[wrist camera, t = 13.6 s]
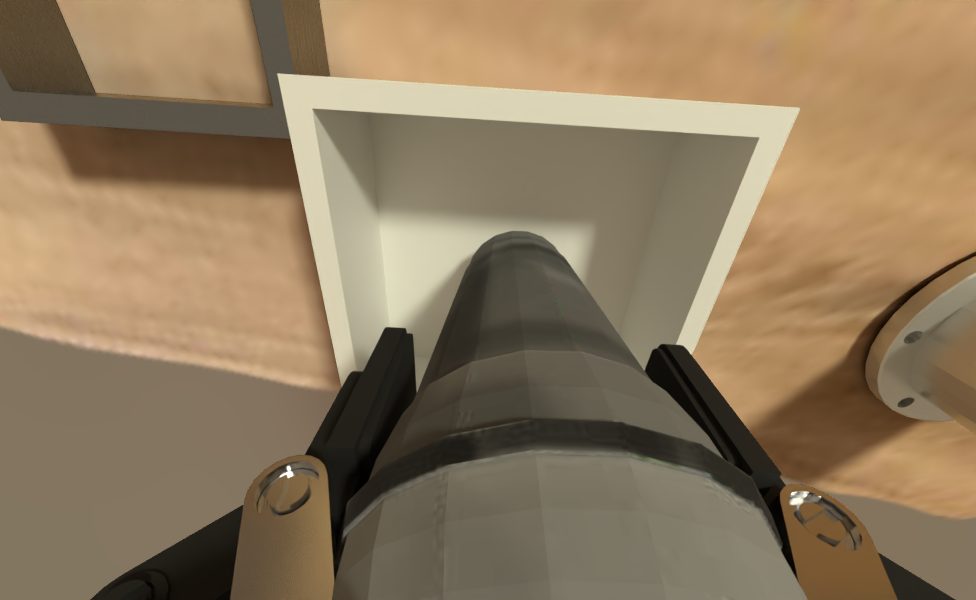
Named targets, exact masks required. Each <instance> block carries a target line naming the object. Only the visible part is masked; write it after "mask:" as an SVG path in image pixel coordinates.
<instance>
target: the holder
mask: <svg viewBox="0 0 976 600" xmlns="http://www.w3.org/2000/svg"><path fill="white" fill-rule="evenodd" d="M250 2H251V6H252V11H253V15H254V20H255V25H256V29H257V34H258V38H259V43H260V48H261V52H262V57H263V61H264V66H265V70H266V75H267V80H268V84H269V89H270V93H271V98H272V103H273V104H258V103H242V102H227V101H211V100H196V99H181V98H165V97H150V96H134V95H119V94H104V93H95V91H94V89H93V86H92V84H91V82H90V80H89V77H88V75H87V73H86V70H85V68H84V66H83V63H82V61H81V59H80V56H79V54H78V52H77V49H76V47H75V45H74V43H73V40H72V38H71V36H70V33H69V31H68V29H67V26H66V24H65V22H64V19H63V17H62V15H61V12H60V10H59V8H58V6H57V3H56V1H55V0H0V118H1V120H2V121H18V122H34V123H49V124H65V125H80V126H96V127H112V128H127V129H143V130H159V131H174V132H190V133H205V134H221V135H237V136H252V137H268V138H284V139H291V138H290V133H289V128H288V124H287V119H286V114H285V109H284V104H283V99H282V94H281V89H280V84H279V80H278V75H277V73H278V74H294V75H309V76H324V77H330V74H329V67H328V60H327V53H326V46H325V39H324V31H323V24H322V17H321V10H320V3H319V0H250Z"/></svg>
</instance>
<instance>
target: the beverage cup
mask: <svg viewBox="0 0 976 600" xmlns="http://www.w3.org/2000/svg"><path fill="white" fill-rule="evenodd" d="M782 546H783V543H782V541H781V538H780V535H779V533H778V530H777V528H776V525H775V522H774V520H773V517H772V515H771V513H770V511H769V509H768V507H767V506H766V504H765V502H764V500H763V498H762V496H761V494H760V492H759V490H758V488H757V487H756V485H755V483H754V481H753V479H752V477H750V476H749V475H747V474H746V473H744V472H743V471H741V470H740V469H738V468H737V467H735V466H734V465H732V464H731V463H729V462H728V461H726V460H725V459H723V457H722V456H721V454H720V453H719V451H718V450H717V448H716V447H715V445H714V444H713V442H712V441H711V439H710V438H709V436H708V435H707V434H706V433H705V432H704V431H703V430H702V429H701V428H700V427H699V425H698V424H697V423H696V422H695V421H694V420H693V419H692V418H691V417H690V416H689V415H688V414H687V413H686V412H685V411H684V410H683V409H682V407H681V406H680V405H679V404H678V403H677V402H676V401H675V400H674V399H673V398H672V397H671V396H670V395H669V394H668V393H667V392H666V391H665V390H663V389H662V388H661V387H659V386H658V385H656V384H655V383H653V382H652V381H651V379H650V378H649V377H648V375H647V374H646V372H645V371H644V369H643V368H642V367H641V365H640V364H639V362H638V361H637V359H636V358H635V357H634V355H633V354H632V352H631V351H630V350H629V348H628V347H627V345H626V344H625V342H624V341H623V340H622V338H621V337H620V335H619V334H618V332H617V331H616V330H615V328H614V327H613V325H612V324H611V323H610V321H609V320H608V318H607V317H606V315H605V314H604V313H603V311H602V310H601V308H600V307H599V305H598V304H597V303H596V301H595V300H594V298H593V297H592V296H591V294H590V293H589V291H588V290H587V288H586V287H585V286H584V284H583V283H582V281H581V280H580V278H579V277H578V276H577V274H576V273H575V271H574V270H573V268H572V267H571V266H570V264H569V263H568V261H567V260H566V259H565V257H564V256H563V255H561V254H560V253H559V252H558V250H557V249H556V247H555V246H554V245H553V244H551V243H550V242H549V241H548V240H546V239H545V238H544V237H542V236H539V235H537V234H534V233H531V232H528V231H509V232H506V233H502V234H498V235H495V236H494V237H492V238H491V239H489V240H488V241H486V242H485V243H483V244H482V245H481V246H480V247H479V249H478V250H477V251H476V252H475V254H474V255H473V256H472V259H471V262H470V264H469V265H468V267H467V268H466V270H465V272H464V275H463V277H462V280H461V282H460V285H459V288H458V290H457V293H456V295H455V298H454V300H453V303H452V305H451V308H450V310H449V313H448V315H447V318H446V320H445V323H444V325H443V328H442V330H441V333H440V336H439V338H438V341H437V343H436V346H435V348H434V351H433V353H432V356H431V358H430V361H429V363H428V366H427V368H426V371H425V373H424V376H423V378H422V381H421V384H420V386H419V389H418V391H417V394H416V396H415V399H414V401H413V403H412V404H411V405H410V406H409V407H408V408H407V409H406V410H405V412H404V413H403V414H402V416H401V417H400V419H399V421H398V422H397V424H396V426H395V428H394V429H393V431H392V433H391V435H390V436H389V438H388V440H387V442H386V443H385V445H384V447H383V449H382V450H381V452H380V454H379V455H378V457H377V459H376V461H375V464H374V467H373V470H372V472H371V475H370V478H369V481H368V482H367V483H366V484H365V485H364V486H363V487H362V488H361V489H360V490H359V491H358V492H357V493H356V494H355V495H354V496H353V497H352V498H351V499H350V500H349V501H348V502H347V506H346V510H345V514H344V518H343V522H342V526H341V530H340V534H339V538H338V546H337V563H338V572H337V575H336V579H335V583H334V588H333V595H332V600H808V599H807V597H806V595H805V594H804V592H803V590H802V588H801V586H800V585H799V583H798V581H797V579H796V577H795V575H794V574H793V572H792V570H791V568H790V566H789V565H788V563H787V561H786V559H785V557H784V556H783V554H782V552H781V551H782Z"/></svg>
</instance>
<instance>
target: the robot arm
mask: <svg viewBox="0 0 976 600" xmlns="http://www.w3.org/2000/svg"><path fill="white" fill-rule="evenodd" d="M645 372H646V374H647V375H648V377H649V378H650V379H651V381H652V382H653V383H655V384H656V385H658V386H659V387H661V388H662V389H663V390H665V391H666V392H667V393H668V394H669V395H670V396H671V397H672V398H673V399H674V400H675V401H676V402H677V403H678V404H679V405H680V406H681V407H682V409H683V410H684V411H685V412H686V413H687V414H688V415H689V416H690V417H691V418H692V419H693V420H694V421H695V422H696V423H697V424H698V425H699V427H700V428H701V429H702V430H703V431H704V432H705V433H706V434H707V435H708V436H709V438H710V439H711V441H712V442H713V444H714V445H715V447H716V448H717V450H718V451H719V453H720V454H721V456H722V457H723V459H725V460H726V461H728V462H729V463H731V464H732V465H734V466H735V467H737V468H738V469H740V470H741V471H743V472H744V473H746V474H747V475H749V476H750V477H752V479H753V481H754V483H755V485H756V487H757V488H758V490H759V492H760V494H761V496H762V498H763V500H764V502H765V504H766V506H767V507H768V509H769V511H770V513H771V515H772V517H773V520H774V522H775V525H776V528H777V530H778V533H779V535H780V538H781V541H782V543H783V546H782V551H781V552H782V554H783V556H784V557H785V559H786V561H787V563H788V565H789V566H790V568H791V570H792V572H793V574H794V575H795V577H796V579H797V581H798V583H799V585H800V586H801V588H802V590H803V592H804V594H805V595H806V597H807V599H808V600H955V599H953V598H952V597H950V596H948V595H947V594H945V593H943V592H942V591H940V590H939V589H937V588H935V587H934V586H932V585H930V584H929V583H927V582H925V581H924V580H922V579H921V578H919V577H917V576H916V575H914V574H912V573H911V572H909V571H907V570H906V569H904V568H903V567H901V566H899V565H897V564H896V563H894V562H893V561H891V560H889V559H888V558H886V557H884V556H883V555H881V554H879V553H878V552H877V550H876V548H875V545H874V543H873V540H872V538H871V536H870V535H869V533H868V531H867V530H866V528H865V526H864V525H863V524H862V523H861V522H860V521H859V519H858V518H857V517H856V516H855V515H854V514H853V513H852V512H851V511H850V510H849V509H847V508H846V507H845V506H844V505H843V504H842V503H840V502H839V501H837V500H835V499H834V498H832V497H831V496H829V495H828V494H826V493H824V492H822V491H819V490H817V489H815V488H813V487H809V486H806V485H802V484H790V485H787V486H786V485H785V484H784V482H783V481H782V480H781V478H780V475H781V472H780V471H779V470H778V468H777V467H776V466H775V464H774V463H773V462H772V460H771V459H770V458H769V457H768V455H767V454H766V453H765V451H764V450H763V449H762V447H761V446H760V445H759V443H758V442H757V441H756V439H755V438H754V437H753V435H752V434H751V433H750V432H749V430H748V429H747V428H746V426H745V425H744V424H743V422H742V421H741V420H740V418H739V417H738V416H737V414H736V413H735V412H734V411H733V409H732V408H731V407H730V405H729V404H728V403H727V401H726V400H725V399H724V397H723V396H722V395H721V393H720V392H719V391H718V389H717V388H716V387H715V386H714V384H713V383H712V382H711V380H710V379H709V378H708V376H707V375H706V374H705V372H704V371H703V370H702V368H701V367H700V366H699V365H698V363H697V362H696V361H695V359H694V358H693V357H692V355H691V354H690V353H689V351H688V350H687V349H686V348H685V347H684V346H683V345H673V344H661V345H659V346H658V348H655V349H653V350H652V352H651V355H650V357H649V360H648V363H647V365H646V368H645ZM865 377H866V380H867V383H868V387H869V389H870V390H871V391H872V393H873V394H874V395H875V396H876V397H877V398H878V399H879V400H880V401H882V402H883V403H884V404H885V405H887V406H888V407H889V408H891V409H892V410H893V411H895V412H898V413H900V414H902V415H904V416H906V417H910V418H915V419H919V420H930V421H954V420H955V421H957V422H958V423H960V424H961V425H963V426H964V427H965V428H967V429H968V430H970V431H971V432H973V433H974V434H976V256H975V257H972V258H970V259H968V260H966V261H964V262H962V263H960V264H959V265H957V266H955V267H954V268H952V269H950V270H949V271H947V272H945V273H944V274H942V275H941V276H939V277H937V278H936V279H934V280H933V281H932V282H930V283H929V284H928V285H926V286H925V287H924V288H922V289H921V290H920V291H918V292H917V293H916V294H914V295H913V296H912V297H911V298H910V299H909V300H908V301H907V302H906V303H905V304H903V305H902V306H901V307H900V308H899V309H898V310H897V311H896V312H895V313H894V314H893V315H892V317H891V318H890V319H889V320H888V322H887V323H886V324H885V325H884V327H883V328H882V329H881V330H880V332H879V334H878V335H877V337H876V339H875V341H874V342H873V344H872V346H871V348H870V351H869V354H868V358H867V361H866V371H865ZM416 394H417V390H416V374H415V357H414V341H413V334H412V333H407V331H406V328H396V327H385V329H384V330H383V332H382V334H381V336H380V338H379V340H378V342H377V344H376V346H375V348H374V350H373V352H372V354H371V356H370V358H369V360H368V362H367V364H366V366H365V368H364V370H363V371H352V372H351V373H350V374H349V375H348V377H347V379H346V381H345V382H344V384H343V386H342V388H341V390H340V392H339V393H338V395H337V397H336V399H335V401H334V403H333V404H332V406H331V408H330V410H329V412H328V413H327V415H326V417H325V419H324V421H323V423H322V425H321V426H320V428H319V430H318V432H317V434H316V435H315V437H314V439H313V441H312V443H311V445H310V446H309V448H308V450H307V452H306V454H305V455H297V456H291V457H287V458H285V459H283V460H280V461H278V462H276V463H275V464H273V465H271V466H270V467H268V468H267V469H265V470H264V471H263V472H262V473H261V474H260V475H259V476H258V477H257V478H256V479H255V480H254V481H253V483H252V484H251V486H250V487H249V489H248V491H247V494H246V497H245V500H244V505H242V506H240V507H238V508H237V509H235V510H233V511H232V512H230V513H228V514H226V515H225V516H223V517H221V518H219V519H218V520H216V521H214V522H213V523H211V524H209V525H207V526H206V527H204V528H202V529H201V530H199V531H197V532H195V533H194V534H192V535H190V536H189V537H187V538H185V539H183V540H182V541H180V542H178V543H176V544H175V545H173V546H171V547H169V548H168V549H166V550H164V551H162V552H161V553H159V554H157V555H156V556H154V557H152V558H150V559H149V560H147V561H146V562H144V563H142V564H140V565H138V566H137V567H135V568H133V569H132V570H130V571H128V572H126V573H125V574H123V575H121V576H120V577H118V578H117V579H115V580H114V581H112V582H111V583H110V584H108V585H107V586H105V587H104V588H103V589H102V590H101V591H99V592H98V593H97V594H96V595H95V596H94V597H93V598H92V599H91V600H332V595H333V588H334V583H335V579H336V575H337V572H338V563H337V546H338V538H339V534H340V530H341V526H342V522H343V518H344V514H345V510H346V506H347V502H348V501H349V500H350V499H351V498H352V497H353V496H354V495H355V494H356V493H357V492H358V491H359V490H360V489H361V488H362V487H363V486H364V485H365V484H366V483H367V482H368V481H369V478H370V475H371V472H372V470H373V467H374V464H375V461H376V459H377V457H378V455H379V454H380V452H381V450H382V449H383V447H384V445H385V443H386V442H387V440H388V438H389V436H390V435H391V433H392V431H393V429H394V428H395V426H396V424H397V422H398V421H399V419H400V417H401V416H402V414H403V413H404V412H405V410H406V409H407V408H408V407H409V406H410V405H411V404H412V403H413V401H414V399H415V396H416Z"/></svg>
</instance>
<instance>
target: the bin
mask: <svg viewBox="0 0 976 600" xmlns="http://www.w3.org/2000/svg"><path fill="white" fill-rule="evenodd" d="M277 75H278V80H279V84H280V89H281V94H282V99H283V104H284V109H285V114H286V119H287V124H288V128H289V133H290V138H291V143H292V148H293V153H294V158H295V163H296V168H297V172H298V177H299V182H300V187H301V192H302V197H303V202H304V207H305V212H306V216H307V221H308V226H309V231H310V236H311V241H312V246H313V251H314V256H315V260H316V265H317V270H318V275H319V280H320V285H321V290H322V295H323V299H324V304H325V309H326V314H327V319H328V324H329V329H330V334H331V339H332V343H333V348H334V353H335V358H336V363H337V368H338V373H339V378H340V383H341V387H342V386H343V384H344V382H345V381H346V379H347V377H348V375H349V374H350V373H351V372H352V371H363V370H364V368H365V366H366V364H367V362H368V360H369V358H370V356H371V354H372V352H373V350H374V348H375V346H376V344H377V342H378V340H379V338H380V336H381V334H382V332H383V330H384V329H385V327H396V328H406V331H407V333H412V334H413V341H414V357H415V374H416V390H417V391H418V389H419V386H420V384H421V381H422V378H423V376H424V373H425V371H426V368H427V366H428V363H429V361H430V358H431V356H432V353H433V351H434V348H435V346H436V343H437V341H438V338H439V336H440V333H441V330H442V328H443V325H444V323H445V320H446V318H447V315H448V313H449V310H450V308H451V305H452V303H453V300H454V298H455V295H456V293H457V290H458V288H459V285H460V282H461V280H462V277H463V275H464V272H465V270H466V268H467V267H468V265H469V264H470V262H471V259H472V256H473V255H474V254H475V252H476V251H477V250H478V249H479V247H480V246H481V245H482V244H483V243H485V242H486V241H488V240H489V239H491V238H492V237H494V236H495V235H498V234H502V233H506V232H509V231H528V232H531V233H534V234H537V235H539V236H542V237H544V238H545V239H546V240H548V241H549V242H550V243H551V244H553V245H554V246H555V247H556V249H557V250H558V252H559V253H560V254H561V255H563V256H564V257H565V259H566V260H567V261H568V263H569V264H570V266H571V267H572V268H573V270H574V271H575V273H576V274H577V276H578V277H579V278H580V280H581V281H582V283H583V284H584V286H585V287H586V288H587V290H588V291H589V293H590V294H591V296H592V297H593V298H594V300H595V301H596V303H597V304H598V305H599V307H600V308H601V310H602V311H603V313H604V314H605V315H606V317H607V318H608V320H609V321H610V323H611V324H612V325H613V327H614V328H615V330H616V331H617V332H618V334H619V335H620V337H621V338H622V340H623V341H624V342H625V344H626V345H627V347H628V348H629V350H630V351H631V352H632V354H633V355H634V357H635V358H636V359H637V361H638V362H639V364H640V365H641V367H642V368H643V369H644V371H645V368H646V365H647V363H648V360H649V357H650V355H651V352H652V350H653V349H655V348H658V346H659V345H661V344H673V345H683V346H684V347H685V348H686V349H687V350H688V351H689V353H690V354H691V355H692V353H693V351H694V349H695V347H696V344H697V342H698V340H699V337H700V335H701V333H702V331H703V328H704V326H705V324H706V322H707V319H708V317H709V315H710V312H711V310H712V308H713V306H714V303H715V301H716V299H717V297H718V294H719V292H720V290H721V287H722V285H723V283H724V281H725V278H726V276H727V274H728V272H729V269H730V267H731V265H732V262H733V260H734V258H735V256H736V253H737V251H738V249H739V247H740V244H741V242H742V240H743V237H744V235H745V233H746V231H747V228H748V226H749V224H750V222H751V219H752V217H753V215H754V212H755V210H756V208H757V206H758V203H759V201H760V199H761V197H762V194H763V192H764V190H765V187H766V185H767V183H768V181H769V178H770V176H771V174H772V172H773V169H774V167H775V165H776V162H777V160H778V158H779V156H780V153H781V151H782V149H783V147H784V144H785V142H786V140H787V137H788V135H789V133H790V131H791V128H792V126H793V124H794V122H795V119H796V117H797V115H798V112H799V110H800V108H794V107H779V106H763V105H748V104H733V103H718V102H703V101H688V100H672V99H657V98H642V97H627V96H612V95H597V94H582V93H566V92H551V91H536V90H521V89H506V88H491V87H475V86H460V85H445V84H430V83H415V82H400V81H384V80H369V79H354V78H339V77H324V76H309V75H294V74H278V73H277Z"/></svg>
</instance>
